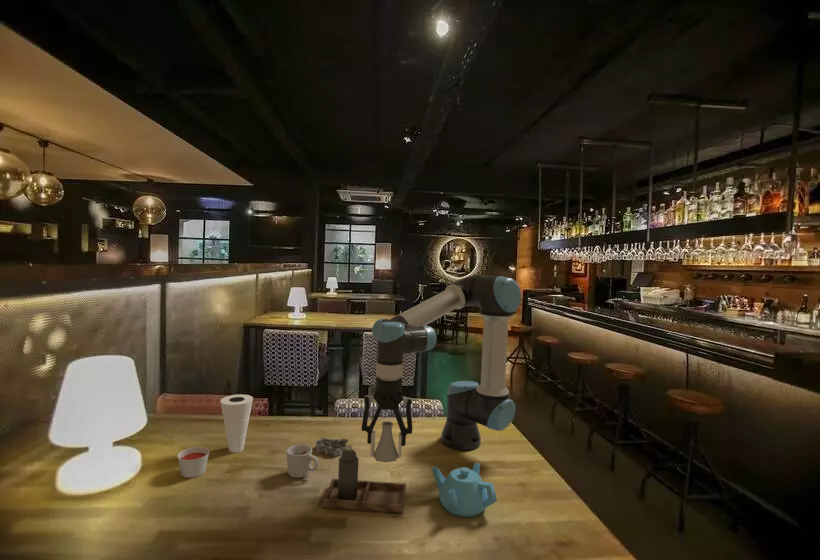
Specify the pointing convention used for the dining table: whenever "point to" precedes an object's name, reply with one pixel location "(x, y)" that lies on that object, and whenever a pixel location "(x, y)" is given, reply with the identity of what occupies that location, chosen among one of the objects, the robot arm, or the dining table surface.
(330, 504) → the caddy
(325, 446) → the egg carton
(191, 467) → the candle
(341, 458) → the pepper mill
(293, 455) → the cup
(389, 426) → the flask
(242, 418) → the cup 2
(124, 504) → the dining table surface
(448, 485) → the teapot
